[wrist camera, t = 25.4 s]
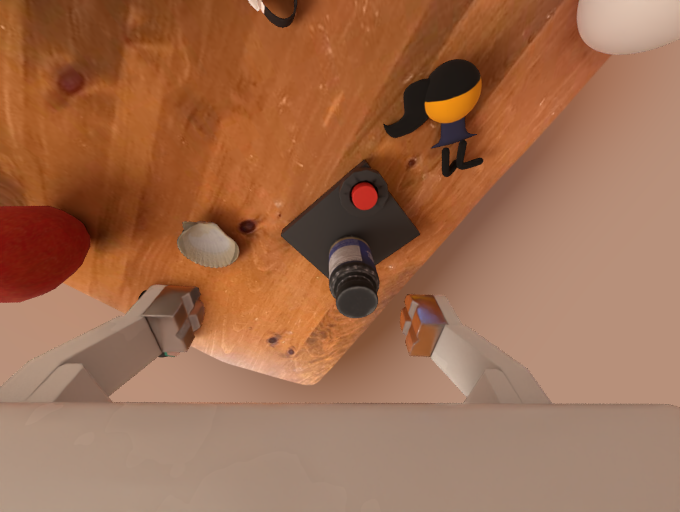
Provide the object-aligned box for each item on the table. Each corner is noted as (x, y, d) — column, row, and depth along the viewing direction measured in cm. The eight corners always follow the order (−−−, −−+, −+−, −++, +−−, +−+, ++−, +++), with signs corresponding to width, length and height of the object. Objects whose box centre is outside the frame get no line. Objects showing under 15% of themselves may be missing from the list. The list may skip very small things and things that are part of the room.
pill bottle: (372, 265, 39) (387, 318, 30) (333, 272, 39) (335, 327, 30) (366, 229, 36) (381, 276, 26) (324, 238, 36) (323, 287, 27)
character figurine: (477, 143, 34) (474, 39, 25) (487, 170, 31) (487, 61, 22) (400, 167, 38) (374, 84, 29) (402, 193, 35) (374, 108, 26)
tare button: (365, 176, 31) (367, 180, 29) (380, 195, 32) (382, 199, 31) (346, 192, 31) (347, 197, 30) (361, 210, 33) (362, 214, 31)
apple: (19, 177, 32) (-163, 225, 20) (111, 208, 34) (-2, 266, 22) (31, 244, 36) (-109, 315, 25) (111, 267, 39) (18, 340, 27)
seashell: (197, 253, 40) (245, 264, 40) (185, 265, 38) (234, 278, 38) (183, 208, 35) (237, 220, 34) (167, 219, 33) (225, 233, 32)
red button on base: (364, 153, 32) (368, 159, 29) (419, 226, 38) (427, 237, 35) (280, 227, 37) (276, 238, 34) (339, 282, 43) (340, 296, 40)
